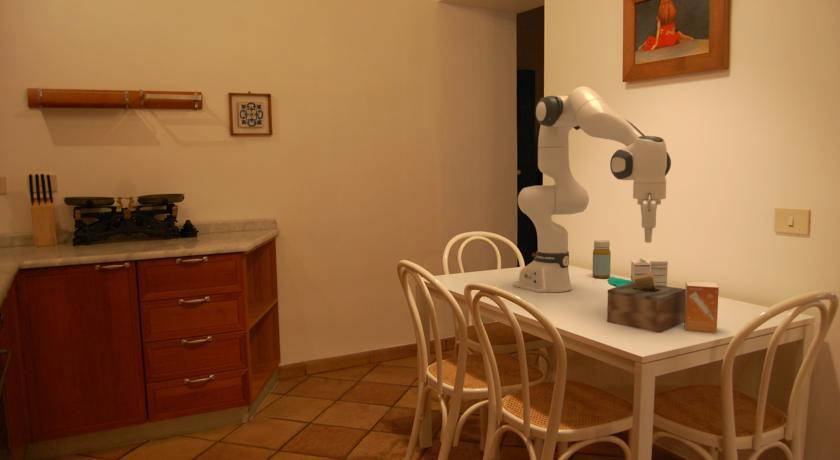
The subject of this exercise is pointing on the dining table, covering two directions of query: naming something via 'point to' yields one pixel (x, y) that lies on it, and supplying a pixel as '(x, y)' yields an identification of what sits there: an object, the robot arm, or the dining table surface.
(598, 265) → the bottle
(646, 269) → the syrup box
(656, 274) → the supplement box
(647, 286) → the upright wooden block
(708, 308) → the small box
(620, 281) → the cloth
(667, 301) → the collection bin
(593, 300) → the dining table surface
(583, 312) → the dining table surface
